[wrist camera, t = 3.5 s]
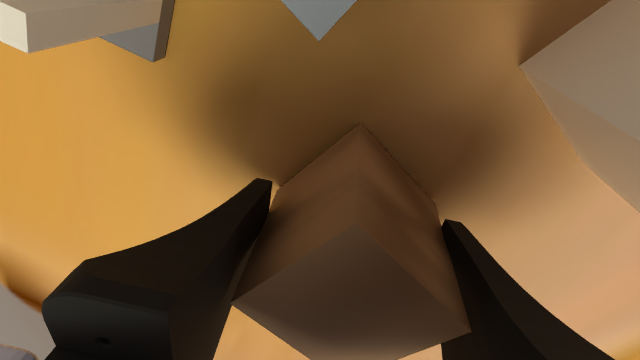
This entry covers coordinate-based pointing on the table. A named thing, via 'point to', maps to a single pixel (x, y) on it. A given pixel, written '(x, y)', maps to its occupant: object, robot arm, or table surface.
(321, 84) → the table surface
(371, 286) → the walnut block
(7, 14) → the cream-edged tan board
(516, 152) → the table surface
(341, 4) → the base block
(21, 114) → the table surface
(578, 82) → the off-white block
